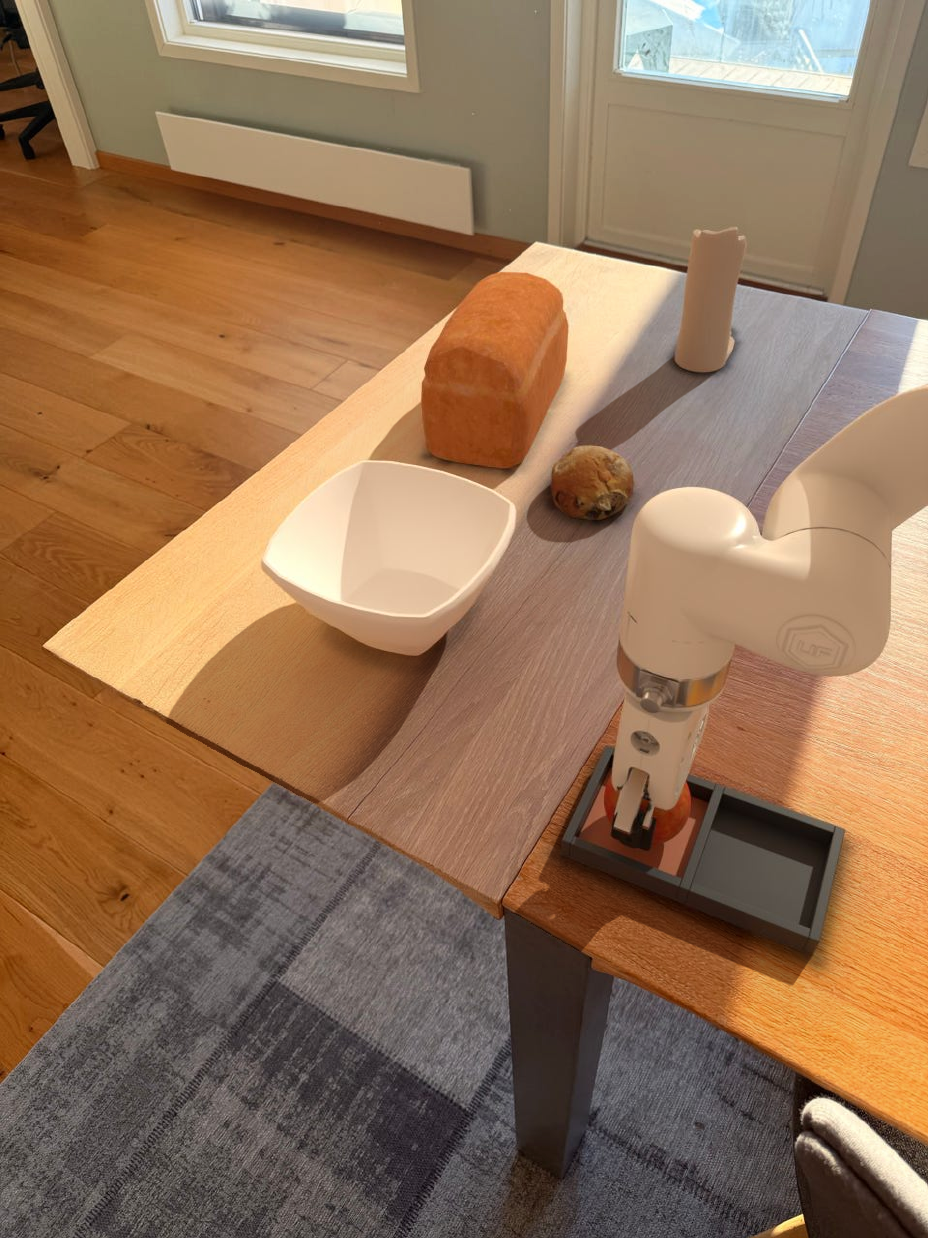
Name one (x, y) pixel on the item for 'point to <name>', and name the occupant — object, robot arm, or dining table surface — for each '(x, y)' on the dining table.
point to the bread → (495, 371)
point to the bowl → (391, 552)
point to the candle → (710, 299)
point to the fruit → (656, 813)
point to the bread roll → (591, 483)
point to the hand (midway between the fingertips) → (646, 803)
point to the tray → (722, 858)
